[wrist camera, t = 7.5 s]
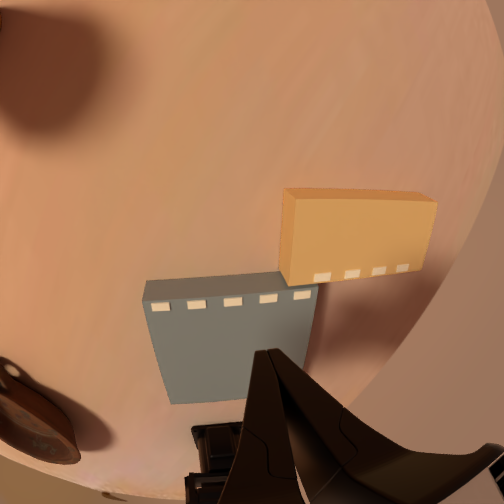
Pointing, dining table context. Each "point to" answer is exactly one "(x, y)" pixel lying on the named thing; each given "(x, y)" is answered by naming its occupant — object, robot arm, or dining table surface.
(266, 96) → the dining table surface
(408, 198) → the stub
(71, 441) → the dish
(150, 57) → the dining table surface
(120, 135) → the dining table surface
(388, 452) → the robot arm
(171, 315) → the grey flat block
